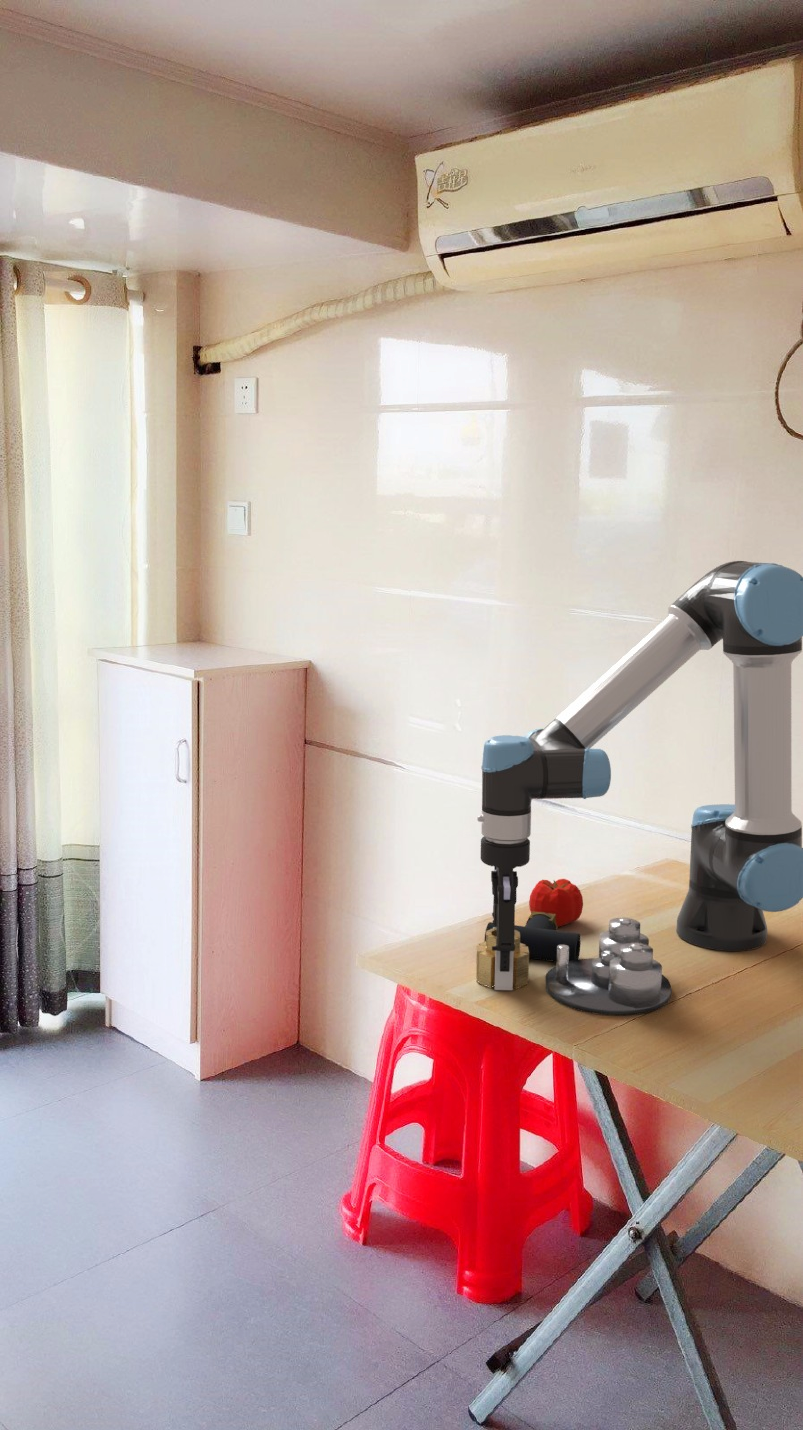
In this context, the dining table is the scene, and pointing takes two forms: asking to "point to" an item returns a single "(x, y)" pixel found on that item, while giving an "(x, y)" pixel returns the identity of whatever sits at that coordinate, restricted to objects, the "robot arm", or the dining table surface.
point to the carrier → (611, 975)
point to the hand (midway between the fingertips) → (502, 977)
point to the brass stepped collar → (487, 960)
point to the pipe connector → (545, 937)
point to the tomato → (557, 900)
